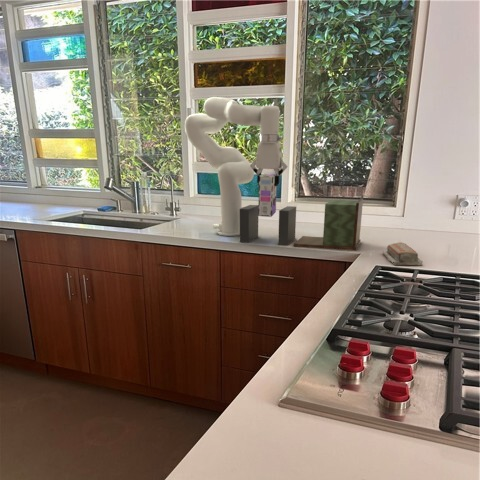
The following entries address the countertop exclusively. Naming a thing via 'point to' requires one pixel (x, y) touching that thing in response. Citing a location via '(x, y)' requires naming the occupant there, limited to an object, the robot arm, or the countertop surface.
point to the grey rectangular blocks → (251, 224)
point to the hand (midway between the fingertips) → (268, 185)
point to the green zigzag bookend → (338, 227)
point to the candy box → (267, 195)
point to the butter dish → (402, 254)
